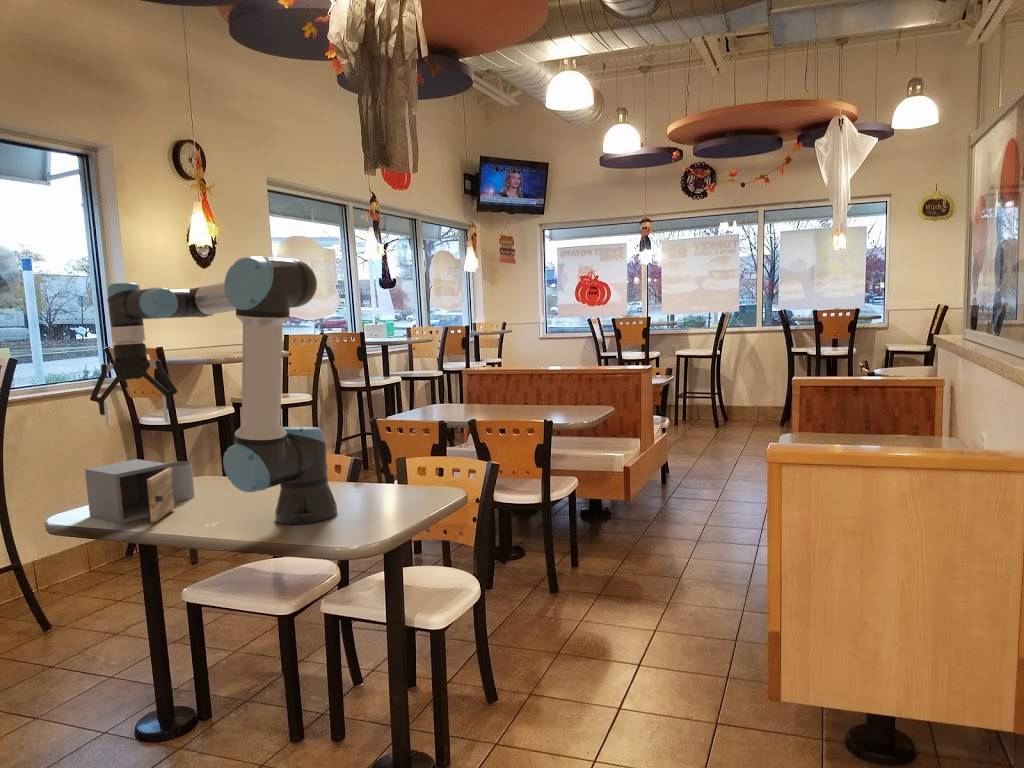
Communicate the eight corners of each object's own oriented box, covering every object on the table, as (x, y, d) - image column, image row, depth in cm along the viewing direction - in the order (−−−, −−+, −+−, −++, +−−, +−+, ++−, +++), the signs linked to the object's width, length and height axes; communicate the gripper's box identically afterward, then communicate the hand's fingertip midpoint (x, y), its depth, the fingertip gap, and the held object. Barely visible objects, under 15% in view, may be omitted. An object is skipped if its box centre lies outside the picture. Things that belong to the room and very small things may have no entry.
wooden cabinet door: (181, 506, 199) (177, 467, 198) (160, 521, 185) (156, 479, 184) (171, 507, 199) (167, 467, 197) (150, 522, 184) (146, 479, 183)
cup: (200, 495, 215) (197, 462, 214) (177, 502, 207) (174, 468, 206) (180, 493, 218) (176, 460, 217) (156, 500, 211) (153, 466, 210)
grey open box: (172, 510, 199) (167, 463, 197) (120, 524, 187) (114, 474, 186) (141, 503, 208) (136, 459, 206) (89, 516, 196) (84, 469, 195)
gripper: (181, 340, 198) (189, 417, 200) (75, 346, 188) (85, 428, 190) (182, 340, 191) (190, 420, 193) (71, 347, 181) (81, 431, 183)
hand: (138, 424), depth 191 cm, fingers open, 13 cm apart
